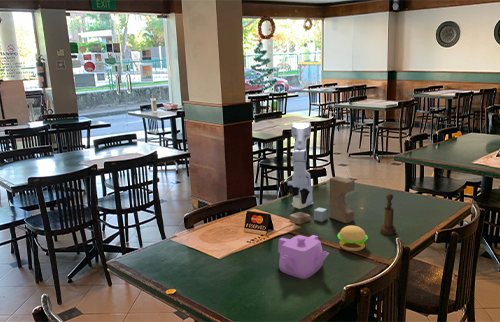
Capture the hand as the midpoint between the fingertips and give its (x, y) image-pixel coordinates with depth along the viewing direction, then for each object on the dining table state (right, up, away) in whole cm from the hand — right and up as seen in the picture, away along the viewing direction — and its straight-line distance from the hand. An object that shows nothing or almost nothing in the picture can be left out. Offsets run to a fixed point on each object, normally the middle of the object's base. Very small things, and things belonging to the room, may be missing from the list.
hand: (299, 202), depth 200 cm
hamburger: (+18, -16, -28) cm, 37 cm away
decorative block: (+20, -9, +2) cm, 22 cm away
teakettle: (-5, -21, -45) cm, 50 cm away
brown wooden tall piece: (+37, -12, -15) cm, 42 cm away
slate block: (+10, -9, +3) cm, 14 cm away
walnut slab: (0, -9, +2) cm, 10 cm away
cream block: (0, -2, 0) cm, 2 cm away
